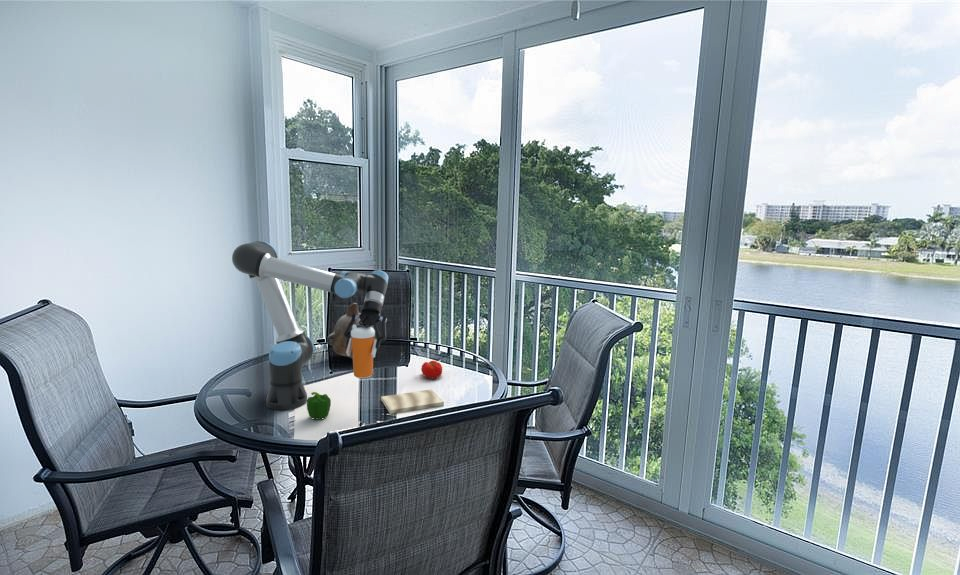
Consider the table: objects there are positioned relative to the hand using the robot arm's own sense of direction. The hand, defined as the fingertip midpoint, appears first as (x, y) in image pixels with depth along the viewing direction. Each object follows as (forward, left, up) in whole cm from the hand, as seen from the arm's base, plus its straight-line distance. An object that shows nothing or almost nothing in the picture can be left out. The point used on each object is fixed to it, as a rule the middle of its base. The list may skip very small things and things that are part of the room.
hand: (360, 355), depth 175 cm
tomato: (+39, +28, -23) cm, 53 cm away
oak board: (+21, +2, -23) cm, 31 cm away
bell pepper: (-15, +2, -23) cm, 28 cm away
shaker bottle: (+2, +3, -9) cm, 10 cm away
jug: (+10, +65, -23) cm, 70 cm away
